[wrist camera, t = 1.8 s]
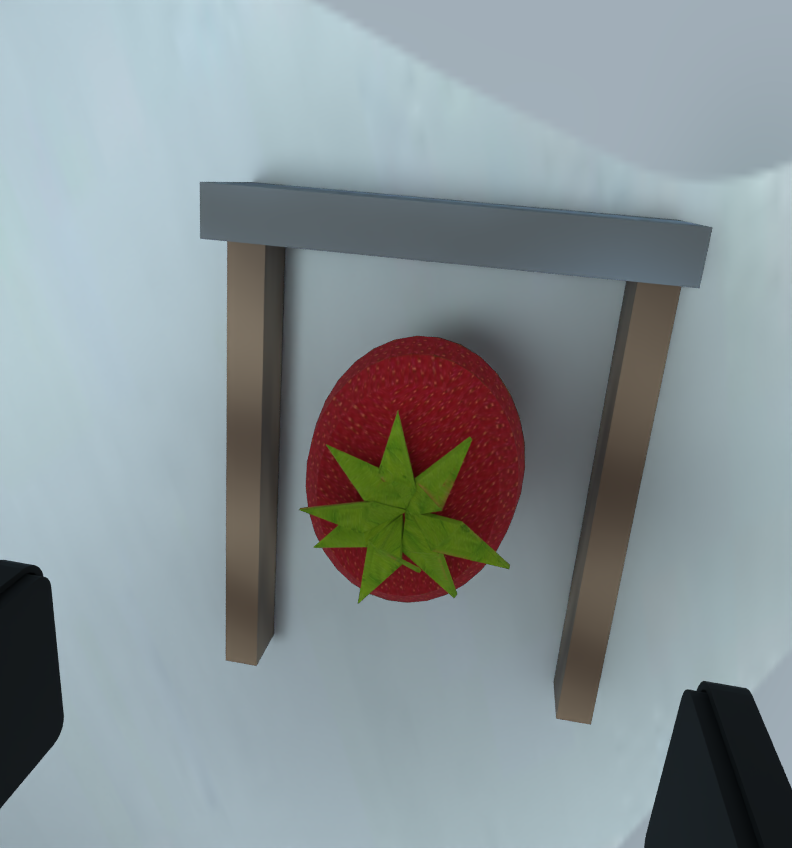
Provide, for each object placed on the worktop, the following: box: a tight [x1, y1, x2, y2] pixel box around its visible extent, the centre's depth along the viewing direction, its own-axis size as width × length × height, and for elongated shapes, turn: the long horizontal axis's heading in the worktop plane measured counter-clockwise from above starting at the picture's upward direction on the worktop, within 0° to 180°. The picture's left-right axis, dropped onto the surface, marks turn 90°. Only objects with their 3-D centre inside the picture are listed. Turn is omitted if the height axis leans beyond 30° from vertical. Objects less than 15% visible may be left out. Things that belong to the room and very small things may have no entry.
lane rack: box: [200, 182, 712, 724], centre depth 23 cm, size 17×13×4 cm
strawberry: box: [299, 336, 525, 603], centre depth 20 cm, size 6×8×10 cm
